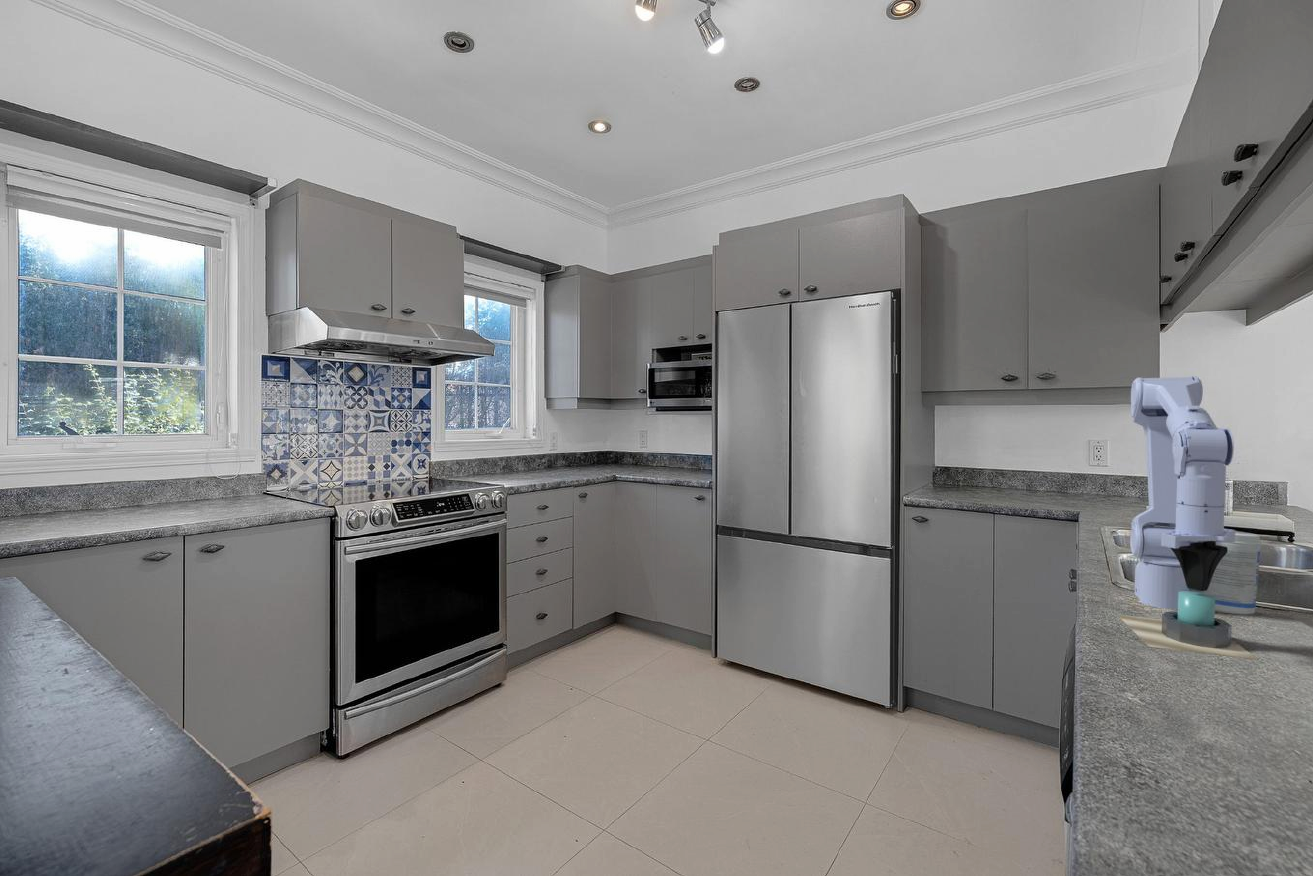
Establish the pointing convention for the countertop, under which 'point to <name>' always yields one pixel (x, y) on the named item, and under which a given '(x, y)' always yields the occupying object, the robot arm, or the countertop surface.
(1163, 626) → the grey faceted ring
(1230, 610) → the supplement tub
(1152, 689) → the countertop surface
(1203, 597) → the teal plug
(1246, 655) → the pale board
